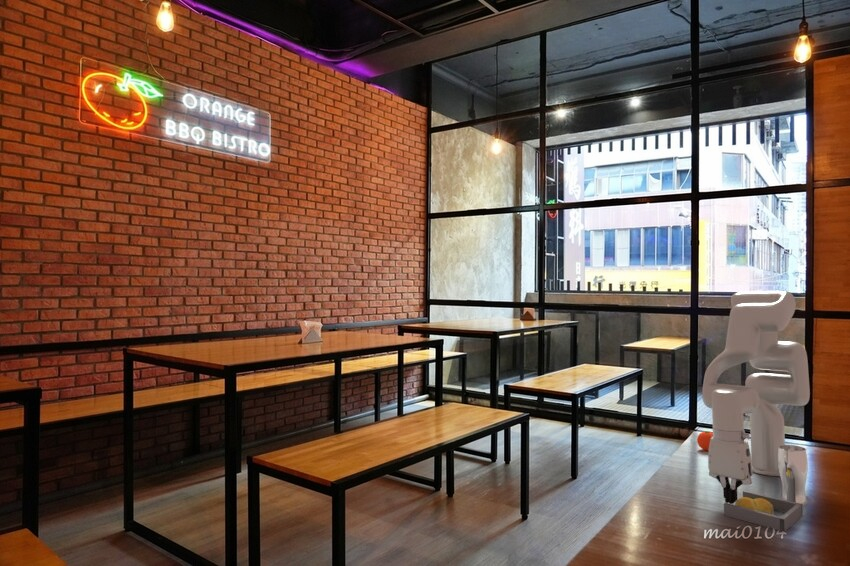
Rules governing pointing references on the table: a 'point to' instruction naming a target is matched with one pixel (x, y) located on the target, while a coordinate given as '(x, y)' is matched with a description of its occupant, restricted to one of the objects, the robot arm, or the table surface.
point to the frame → (779, 523)
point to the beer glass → (793, 472)
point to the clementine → (704, 440)
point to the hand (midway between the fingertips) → (730, 501)
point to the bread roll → (756, 504)
